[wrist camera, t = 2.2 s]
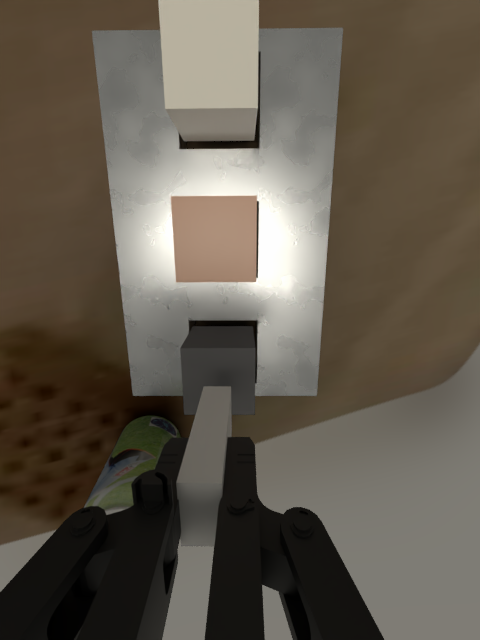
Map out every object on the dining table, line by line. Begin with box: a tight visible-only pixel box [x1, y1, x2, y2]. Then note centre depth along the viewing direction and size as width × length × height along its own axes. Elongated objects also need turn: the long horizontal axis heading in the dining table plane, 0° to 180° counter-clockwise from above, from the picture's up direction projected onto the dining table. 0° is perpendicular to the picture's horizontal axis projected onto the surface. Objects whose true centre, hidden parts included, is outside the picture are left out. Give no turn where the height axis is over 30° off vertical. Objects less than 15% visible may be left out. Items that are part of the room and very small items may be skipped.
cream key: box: [158, 0, 259, 141], centre depth 17 cm, size 5×5×5 cm
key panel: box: [92, 28, 343, 396], centre depth 23 cm, size 16×26×3 cm, turn 0°
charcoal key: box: [180, 326, 255, 415], centre depth 21 cm, size 5×5×5 cm
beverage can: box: [84, 416, 181, 515], centre depth 24 cm, size 6×7×12 cm
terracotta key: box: [171, 196, 257, 282], centre depth 19 cm, size 5×5×5 cm
